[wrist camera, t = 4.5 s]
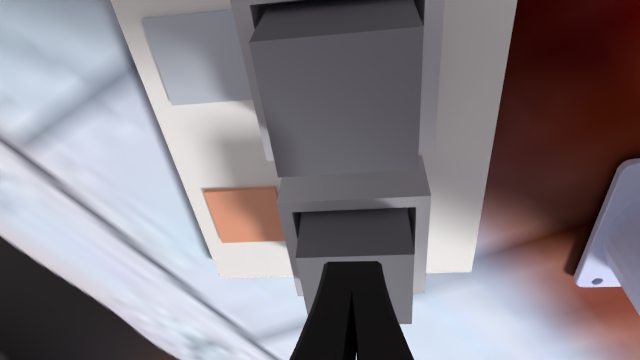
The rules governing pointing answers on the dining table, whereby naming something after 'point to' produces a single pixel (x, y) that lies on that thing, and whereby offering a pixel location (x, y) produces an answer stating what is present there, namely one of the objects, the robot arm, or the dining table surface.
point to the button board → (321, 190)
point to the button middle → (340, 85)
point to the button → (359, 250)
